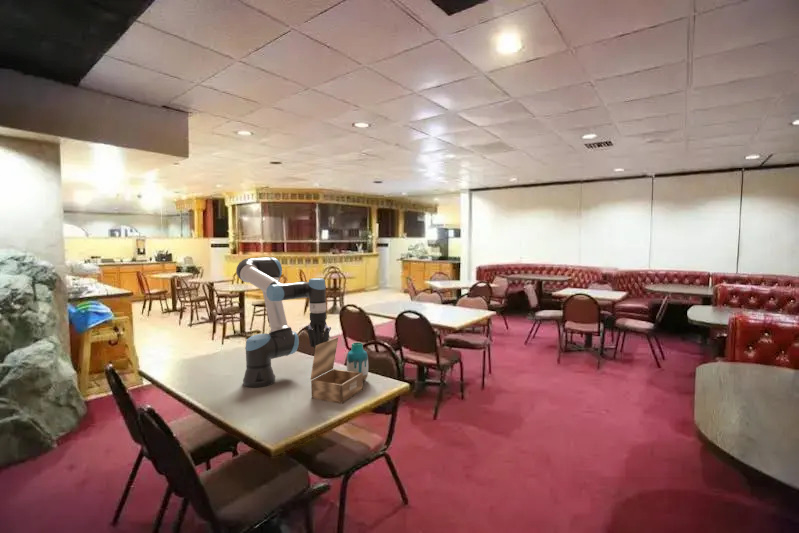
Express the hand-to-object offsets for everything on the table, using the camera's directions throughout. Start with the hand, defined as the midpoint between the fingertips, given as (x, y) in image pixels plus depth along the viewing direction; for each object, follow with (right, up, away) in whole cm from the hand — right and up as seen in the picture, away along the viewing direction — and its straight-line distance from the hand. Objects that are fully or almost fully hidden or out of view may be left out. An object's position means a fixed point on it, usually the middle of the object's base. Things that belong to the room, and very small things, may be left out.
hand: (319, 362), depth 187 cm
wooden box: (+9, -14, -3) cm, 17 cm away
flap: (+3, +2, -1) cm, 4 cm away
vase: (+17, -13, +13) cm, 25 cm away
